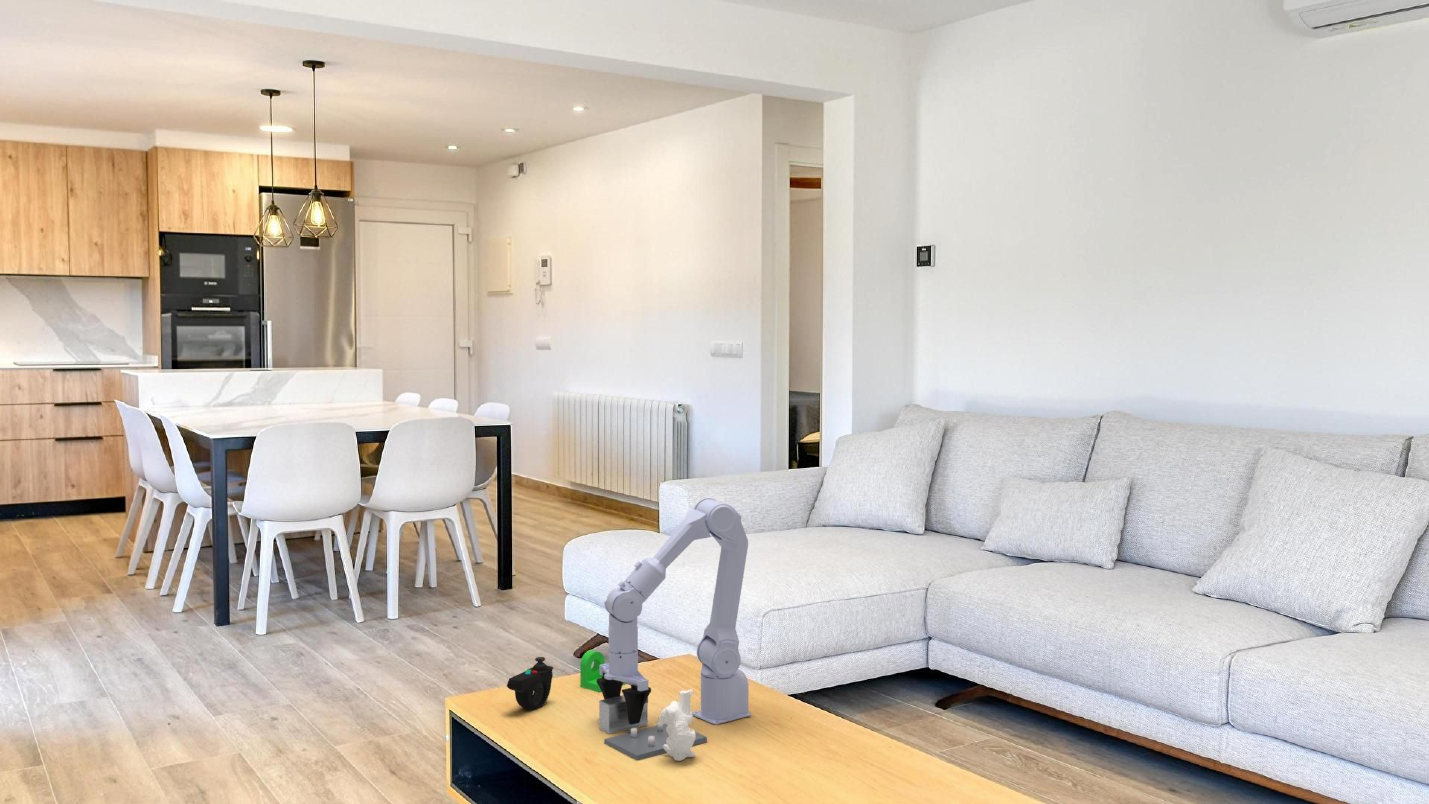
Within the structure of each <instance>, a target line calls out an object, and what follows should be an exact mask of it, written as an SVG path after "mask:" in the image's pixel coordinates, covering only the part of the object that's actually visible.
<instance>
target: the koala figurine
mask: <svg viewBox="0 0 1429 804" xmlns="http://www.w3.org/2000/svg"><path fill="white" fill-rule="evenodd" d="M693 691H694V689H691V688H689V689H688V690H681V691H680V692H679V697H678V701H676V700H671V702H670V703H669V705H667V706H666V707H664V708H663V709H662V710H661V712H660V714H659V717H658V721H660V722H662V723H663V724H667V725H668V726H667V727H666V731H667V733H668V734H669V737H668V738H667V739H666V743H667V745H666V744H664V745H663V749H664V750H665V751H666V752H667V753H666V754H667V755H668V756H669V757H671V758H673V759H674V761H677V762H680V761H683V760H685V759H686V758H693V757H696V753H695V752H693V751H692V750H691V749H692V747H693V743H694V741H695V738H696V734H695V732H696V731H695V729H694V728H690V726H689V725H690V724H691V723H692V722H693V718H694V716H693V715H692V713H693V711H692V709H691V701H692V700H691V698H692V697H691V696H692V695H693Z"/></svg>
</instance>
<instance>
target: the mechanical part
mask: <svg viewBox="0 0 1429 804" xmlns="http://www.w3.org/2000/svg"><path fill="white" fill-rule="evenodd" d="M592 664H593V666H592ZM601 664H606V663H605V656H604V655H603V653H601V652H600V651H595V650H593V649H592V650H591V649H590V650H587V651H586V652H585V653H584V654H583V655H582V657H581V659H580V664H579V666H580V667H579V668H580V670H579V671H580V674H579V677H580V679H579V681H580V683H579V684H580V688H583V689H586V690H590V691H594V692H597V693H602V691H601V689H600V687H599V685H598V684H597V679H598V678H602V676H603V675H600V665H601ZM625 685H627V684H626V683H624V682H623V685H622V686H625Z"/></svg>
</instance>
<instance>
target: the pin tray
mask: <svg viewBox="0 0 1429 804" xmlns="http://www.w3.org/2000/svg"><path fill="white" fill-rule="evenodd" d="M667 726H668V725H667V724H665V723H662V722H660V721H659V720H658V721H657V722H656V725H655V726H651V727H647V728H642V729H639V730H638V728H631V729H630V732H626V733H624V734H623V733H622V734H619V735H615V736H614V735H613V736H610V737H606V738H603V740H604V741H603V743H604V744H605V745H606V746H608V747H610V748H612V749H614V750H616V751H618V752H620V753H621V754H623V755H626V756H627V757H629V758H631V759H633V760H635V761H642V760H645V759H648V758H653V757H657V756H660V755H664V754H667V752H666V751H665V750H664V749H663V745H664V744H666V745H667V743H666V739H667V738H668V737H669V734H668V733H667V731H666V727H667ZM695 734H696V738H695V741H694V743H693V746H697V745H702V744H705V743H707V742H708V736H706V735H704V734H701V733H699V732H697V731H695ZM693 746H692V747H693Z"/></svg>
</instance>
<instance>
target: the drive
mask: <svg viewBox="0 0 1429 804" xmlns="http://www.w3.org/2000/svg"><path fill="white" fill-rule="evenodd" d="M598 703H599V704H598V705H599V706H598V707H599V708H598V709H599V712H598V713H599V714H598V715H599V716H598V717H599V719H598V720H599V721H598V723H599V730H600V731H602V732H604V733H606V734H608V735H612V734H616V733H621V732H624V731H625V732H626V731H631V728H637V729H638V728H641V727H645V726H648V725H649V724H648V721H649V719H648V717H649V716H648V710H649V709H648V708H649V707H648V703H649V697H648V698H647V700H646V702H645V704H644V707H643V711H642V715H641V719H640V723H636V724H632V725H631V724H629V721H628V713H627V705H626V701H625V698H624V695H623V694H622V695H620V696H618V697H613V698H609V699H604V698H603V699H601V700H599V701H598Z"/></svg>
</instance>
